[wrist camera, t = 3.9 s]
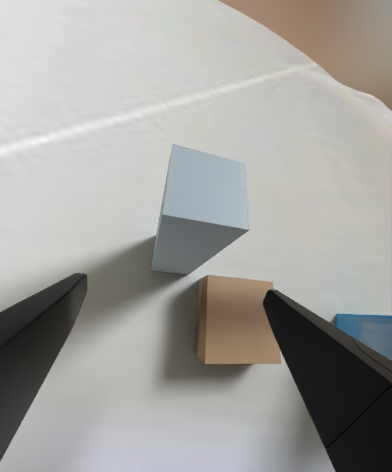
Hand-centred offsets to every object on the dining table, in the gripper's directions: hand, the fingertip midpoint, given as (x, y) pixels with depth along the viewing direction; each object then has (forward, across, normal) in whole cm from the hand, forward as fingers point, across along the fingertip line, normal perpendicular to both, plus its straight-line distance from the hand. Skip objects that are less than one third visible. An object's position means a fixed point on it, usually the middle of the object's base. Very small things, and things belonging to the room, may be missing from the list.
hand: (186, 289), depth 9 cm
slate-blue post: (+10, 0, +4) cm, 11 cm away
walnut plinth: (+6, -7, +8) cm, 12 cm away
